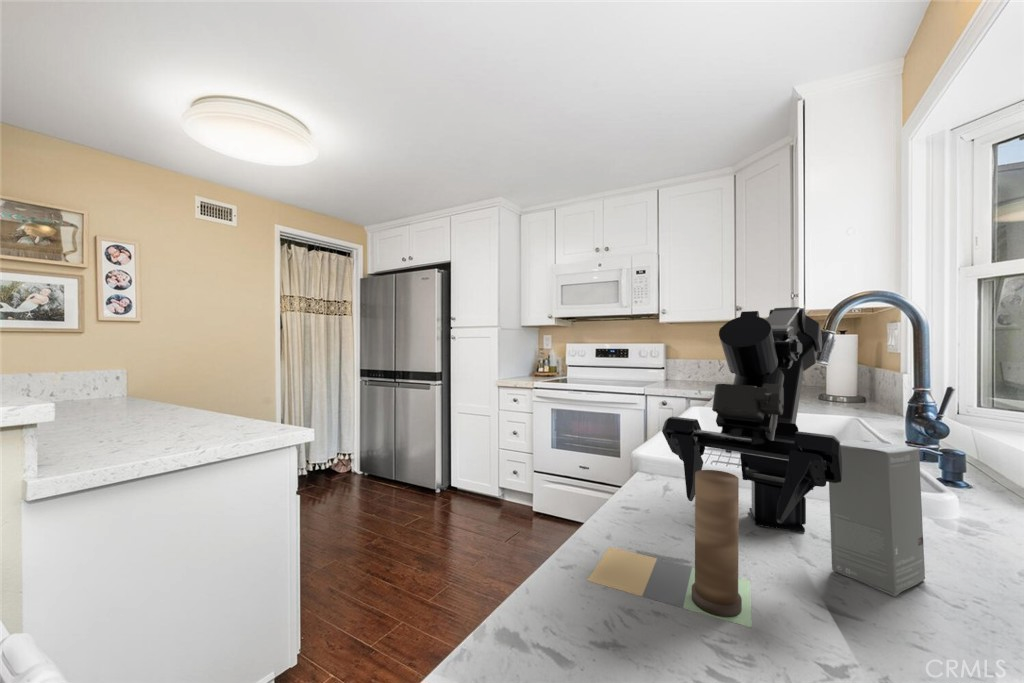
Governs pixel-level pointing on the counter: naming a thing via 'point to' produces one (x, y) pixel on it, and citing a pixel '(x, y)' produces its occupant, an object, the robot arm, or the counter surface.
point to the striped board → (660, 581)
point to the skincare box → (878, 516)
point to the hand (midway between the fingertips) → (731, 509)
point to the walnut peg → (716, 543)
